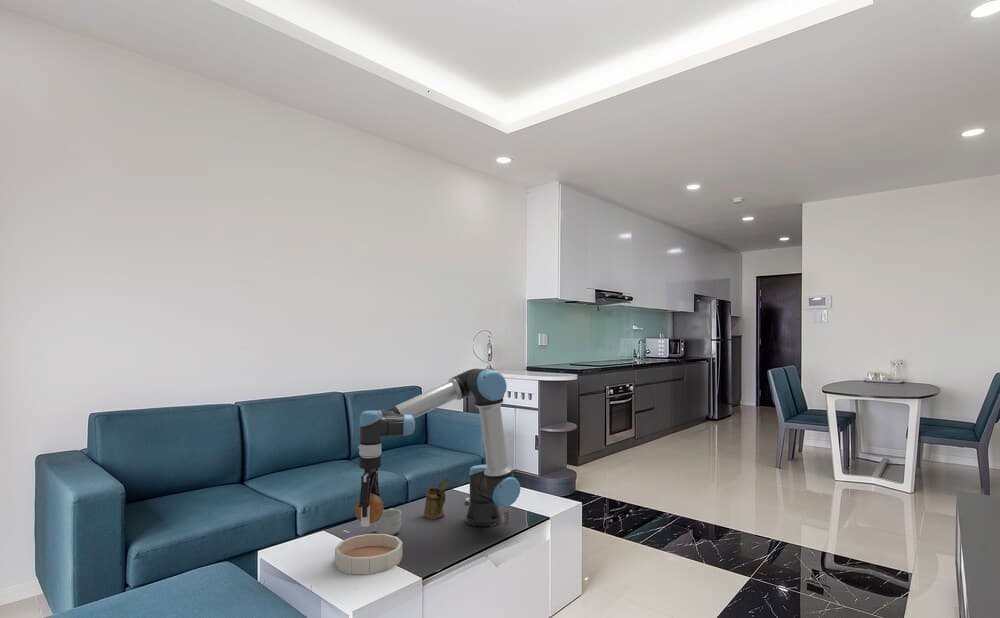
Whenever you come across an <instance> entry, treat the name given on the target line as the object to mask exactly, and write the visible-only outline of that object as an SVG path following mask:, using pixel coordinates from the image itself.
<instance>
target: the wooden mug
mask: <svg viewBox="0 0 1000 618" xmlns="http://www.w3.org/2000/svg"><path fill="white" fill-rule="evenodd" d="M450 484H451V478H450V477H449V476H448V477H446V478H445V479H443V480H442V481H441V482H440V483H439V484H438V487H430V488H428V489H427V490H426V494H425V497H426V499H425V504H424V510H423V516H422V517H423V519H426V520H438V519H439V520H440V519H442V518H444V517H445V510H444V505H445V503H446V498H447V497H446V491H445V490H446V489H447V487H449V485H450Z"/></svg>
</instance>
